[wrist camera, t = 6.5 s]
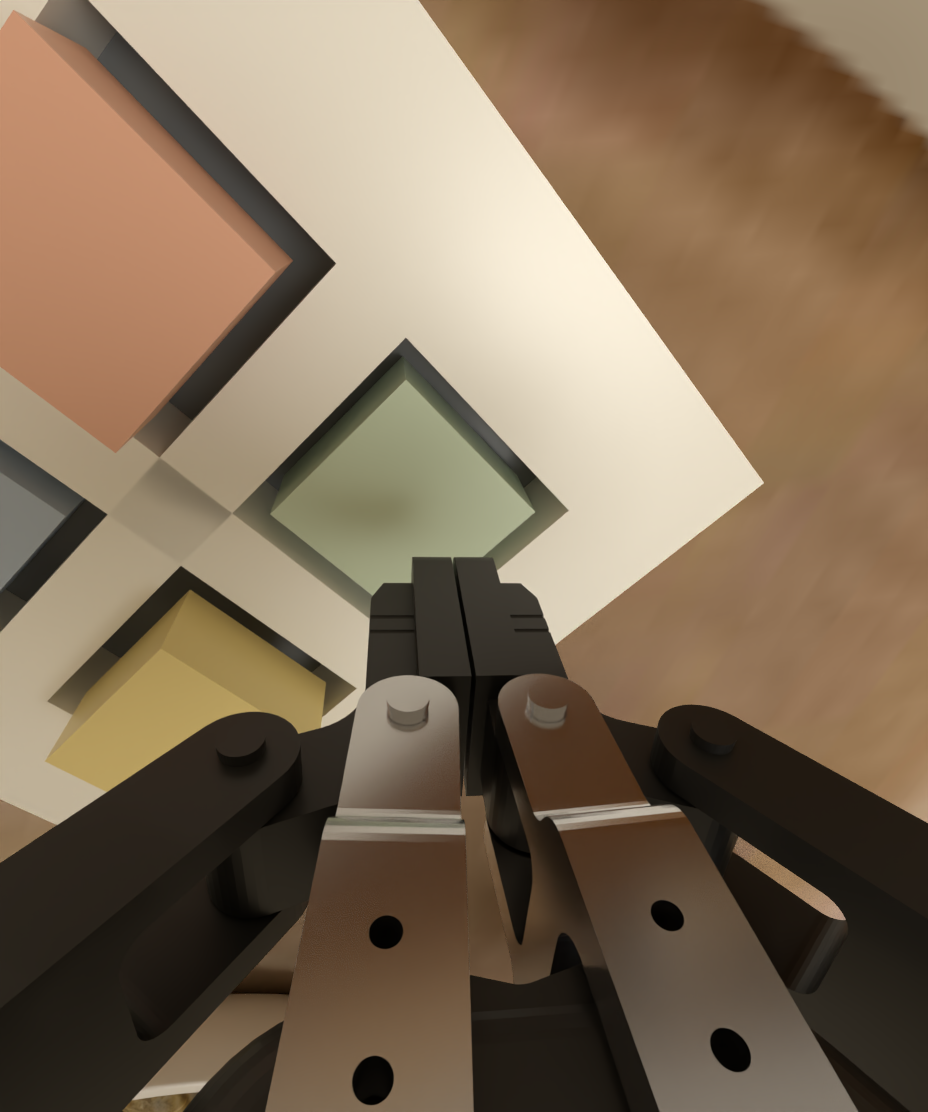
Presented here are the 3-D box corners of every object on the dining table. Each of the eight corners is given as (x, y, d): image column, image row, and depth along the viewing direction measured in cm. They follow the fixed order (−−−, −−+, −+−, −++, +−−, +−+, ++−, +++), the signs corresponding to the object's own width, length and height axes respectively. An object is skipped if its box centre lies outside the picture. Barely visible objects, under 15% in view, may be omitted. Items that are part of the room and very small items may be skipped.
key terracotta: (293, 260, 12) (275, 272, 10) (156, 414, 14) (115, 453, 11) (86, 48, 11) (13, 8, 8) (-53, 247, 12) (-147, 256, 10)
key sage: (516, 475, 17) (535, 512, 15) (403, 575, 19) (406, 622, 16) (402, 356, 16) (405, 379, 13) (284, 475, 17) (270, 514, 15)
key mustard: (326, 682, 18) (318, 747, 15) (224, 769, 19) (205, 840, 17) (190, 589, 16) (160, 649, 14) (86, 692, 17) (45, 761, 15)
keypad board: (691, 430, 19) (763, 482, 16) (247, 798, 25) (224, 900, 21) (138, -308, 11) (22, -552, 8) (-345, 475, 17) (-548, 551, 13)
